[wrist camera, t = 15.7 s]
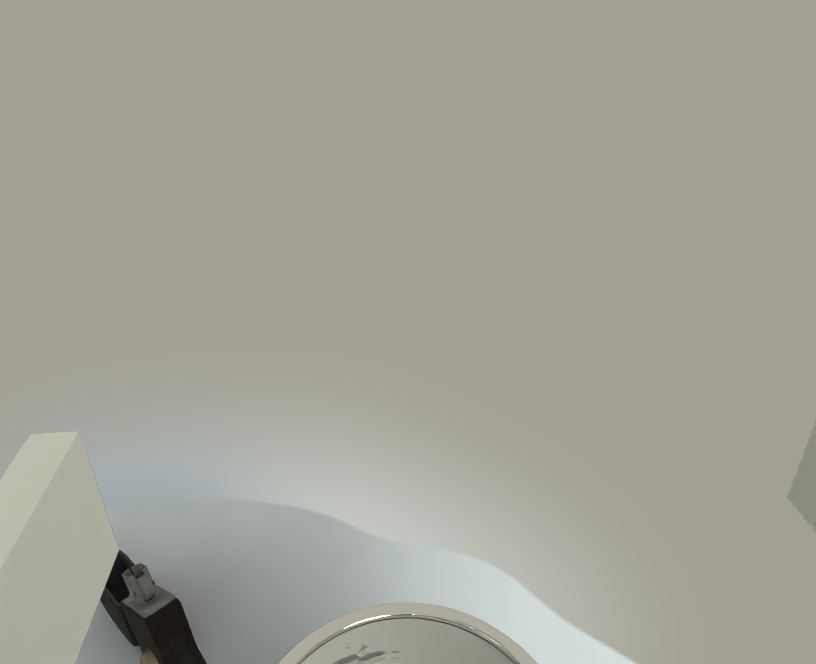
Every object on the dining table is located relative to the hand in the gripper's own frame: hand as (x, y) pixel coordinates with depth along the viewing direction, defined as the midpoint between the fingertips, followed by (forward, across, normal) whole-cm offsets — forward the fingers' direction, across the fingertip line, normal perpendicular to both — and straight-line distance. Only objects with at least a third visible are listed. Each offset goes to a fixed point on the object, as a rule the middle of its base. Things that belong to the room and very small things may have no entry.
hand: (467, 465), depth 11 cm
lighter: (+11, -12, -20) cm, 26 cm away
